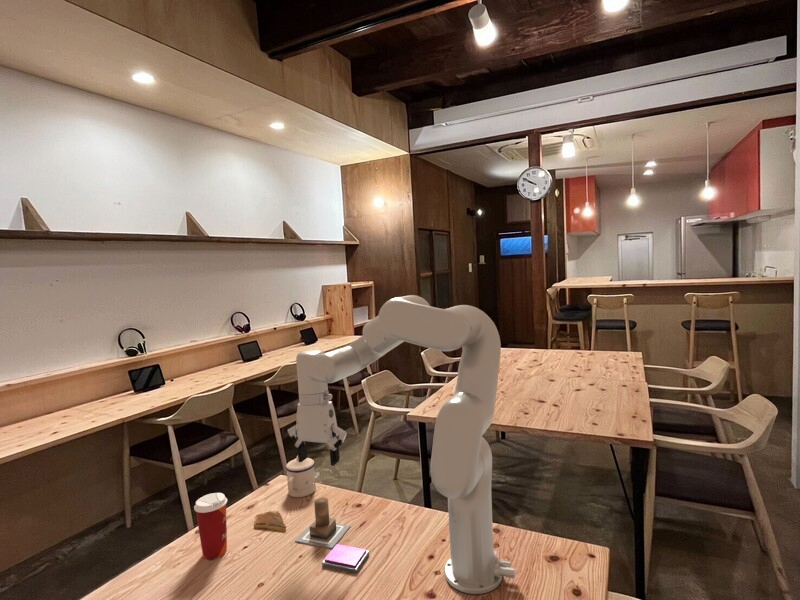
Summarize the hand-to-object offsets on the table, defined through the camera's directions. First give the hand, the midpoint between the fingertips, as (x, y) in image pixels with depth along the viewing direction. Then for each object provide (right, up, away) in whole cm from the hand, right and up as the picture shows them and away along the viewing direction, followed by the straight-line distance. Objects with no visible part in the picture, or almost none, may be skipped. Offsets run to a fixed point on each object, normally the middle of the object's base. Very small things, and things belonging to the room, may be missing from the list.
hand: (318, 461), depth 114 cm
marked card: (+1, -20, +1) cm, 20 cm away
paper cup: (-26, -22, -4) cm, 34 cm away
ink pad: (+8, -20, -10) cm, 24 cm away
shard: (-14, -21, +9) cm, 27 cm away
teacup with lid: (-11, -19, +24) cm, 33 cm away
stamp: (+1, -19, +1) cm, 19 cm away
